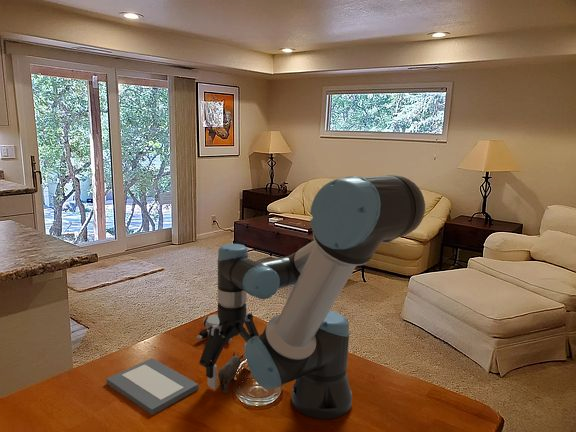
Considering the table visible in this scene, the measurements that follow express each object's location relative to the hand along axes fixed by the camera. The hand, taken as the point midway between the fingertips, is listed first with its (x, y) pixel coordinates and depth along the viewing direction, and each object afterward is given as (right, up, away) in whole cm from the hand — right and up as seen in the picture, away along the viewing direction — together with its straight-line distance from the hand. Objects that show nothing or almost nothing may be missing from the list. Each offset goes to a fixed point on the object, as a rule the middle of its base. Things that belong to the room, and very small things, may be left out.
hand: (231, 376), depth 118 cm
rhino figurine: (0, -1, 0) cm, 1 cm away
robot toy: (-7, +4, +26) cm, 27 cm away
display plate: (-20, -1, -5) cm, 21 cm away
